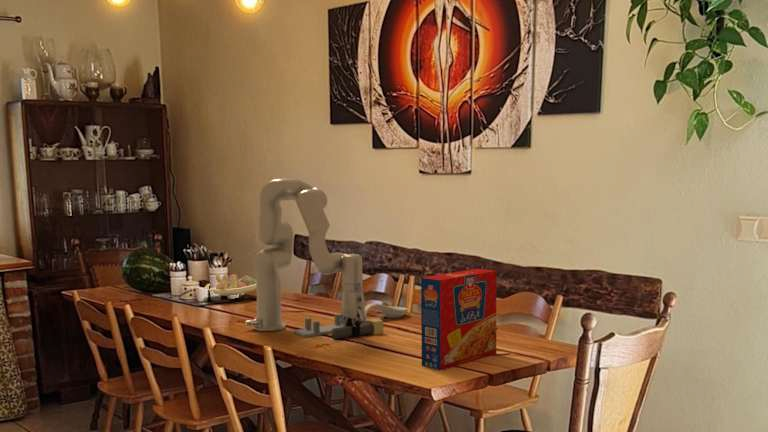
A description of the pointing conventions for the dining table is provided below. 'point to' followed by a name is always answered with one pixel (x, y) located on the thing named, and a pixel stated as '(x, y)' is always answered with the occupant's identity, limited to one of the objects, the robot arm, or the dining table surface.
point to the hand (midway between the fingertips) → (352, 335)
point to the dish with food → (233, 285)
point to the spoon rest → (387, 310)
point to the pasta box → (458, 317)
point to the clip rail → (322, 327)
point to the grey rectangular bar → (370, 328)
